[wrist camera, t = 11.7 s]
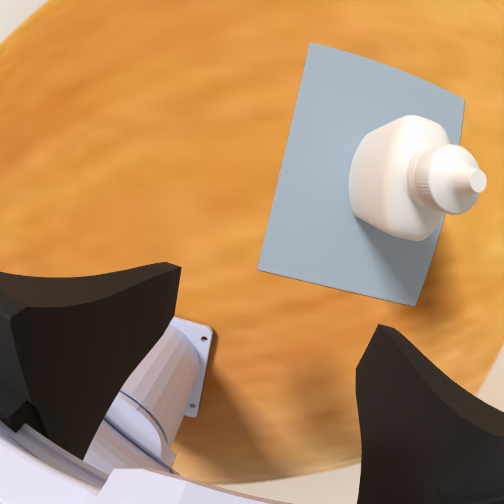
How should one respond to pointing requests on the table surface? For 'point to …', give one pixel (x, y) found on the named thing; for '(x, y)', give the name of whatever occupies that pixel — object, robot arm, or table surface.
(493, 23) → the table surface
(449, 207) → the eye dropper bottle
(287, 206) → the mat
